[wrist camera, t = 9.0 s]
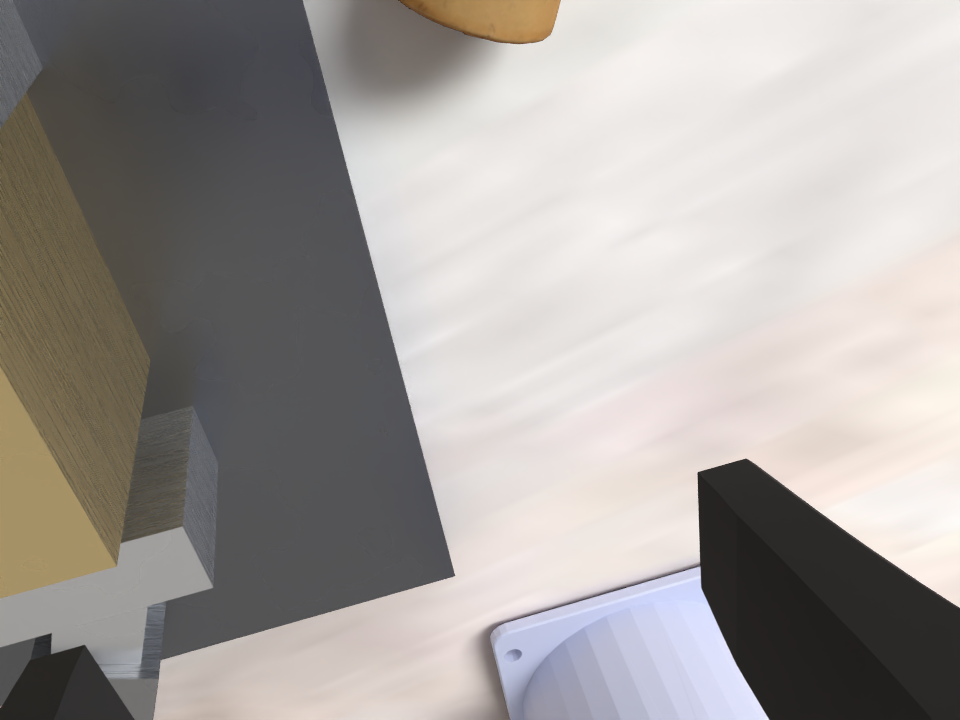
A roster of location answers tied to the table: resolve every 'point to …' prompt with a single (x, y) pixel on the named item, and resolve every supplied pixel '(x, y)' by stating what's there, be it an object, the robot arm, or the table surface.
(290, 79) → the shaft base
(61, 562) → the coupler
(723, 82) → the table surface
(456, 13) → the kendama
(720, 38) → the table surface
